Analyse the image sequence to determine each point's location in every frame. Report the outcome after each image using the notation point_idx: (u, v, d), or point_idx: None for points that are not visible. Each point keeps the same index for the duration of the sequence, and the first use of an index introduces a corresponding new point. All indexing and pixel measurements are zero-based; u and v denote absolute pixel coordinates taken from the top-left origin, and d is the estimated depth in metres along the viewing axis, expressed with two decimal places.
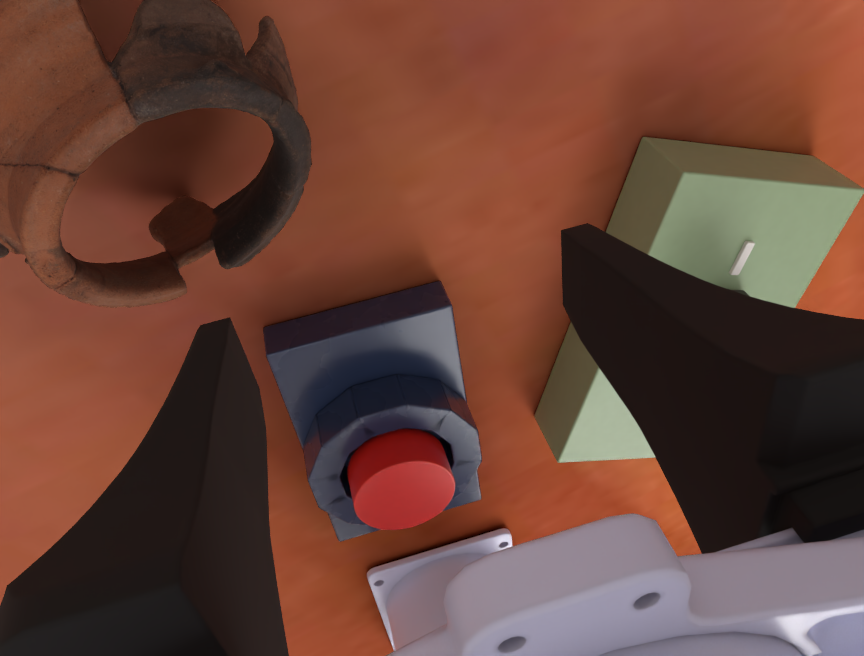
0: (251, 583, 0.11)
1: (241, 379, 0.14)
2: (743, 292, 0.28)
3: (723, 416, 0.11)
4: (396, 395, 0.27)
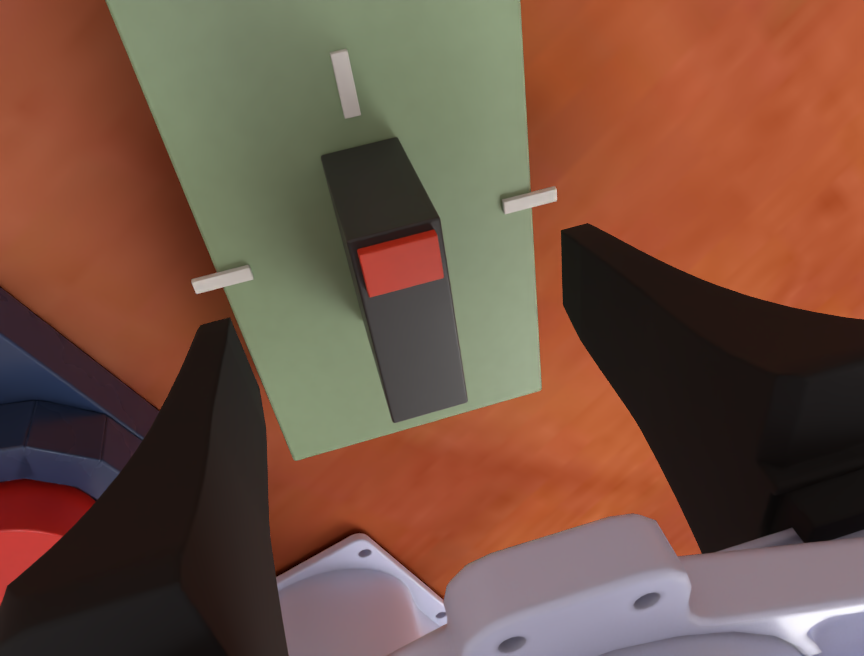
0: (251, 583, 0.11)
1: (241, 379, 0.14)
2: (392, 141, 0.16)
3: (723, 416, 0.11)
4: None
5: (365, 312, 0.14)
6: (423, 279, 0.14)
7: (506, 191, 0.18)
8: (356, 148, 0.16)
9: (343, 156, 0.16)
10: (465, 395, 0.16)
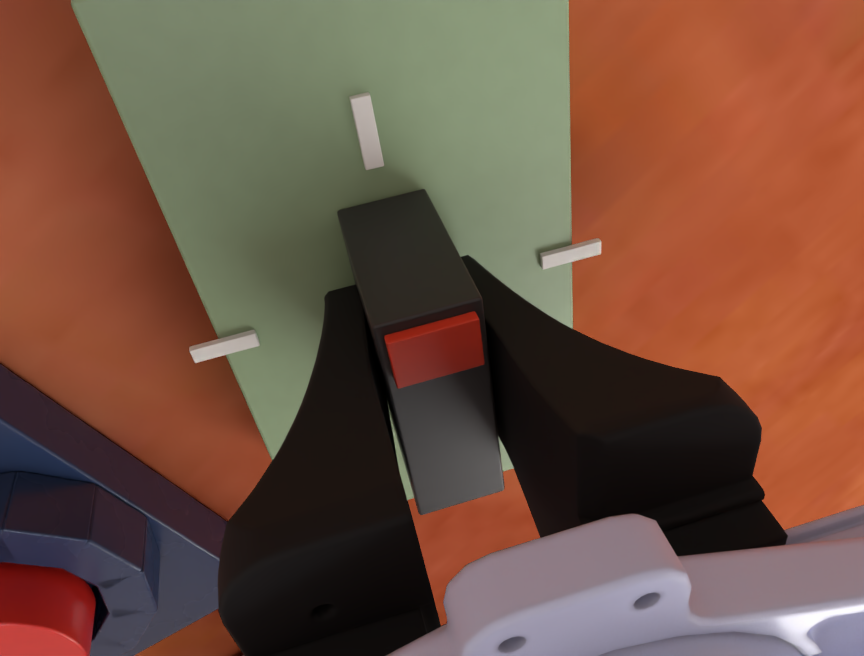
0: None
1: (372, 343, 0.14)
2: (419, 194, 0.14)
3: (554, 467, 0.10)
4: None
5: (391, 402, 0.12)
6: (461, 367, 0.12)
7: (545, 244, 0.16)
8: (378, 202, 0.14)
9: (363, 212, 0.14)
10: (502, 483, 0.14)
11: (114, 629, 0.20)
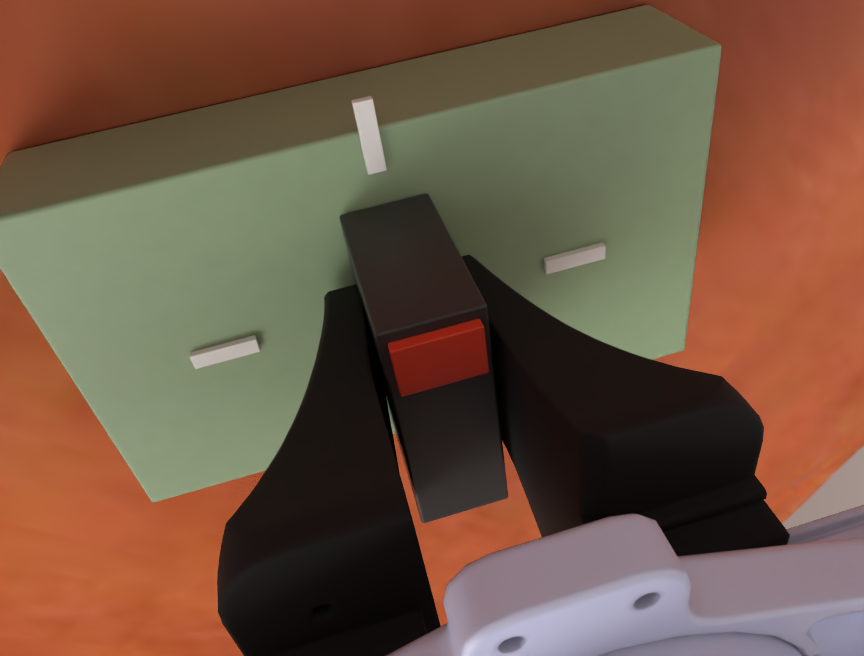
0: None
1: (372, 343, 0.14)
2: (422, 198, 0.14)
3: (556, 466, 0.10)
4: None
5: (394, 410, 0.12)
6: (465, 375, 0.12)
7: None
8: (380, 207, 0.14)
9: (366, 217, 0.14)
10: (505, 491, 0.14)
11: None
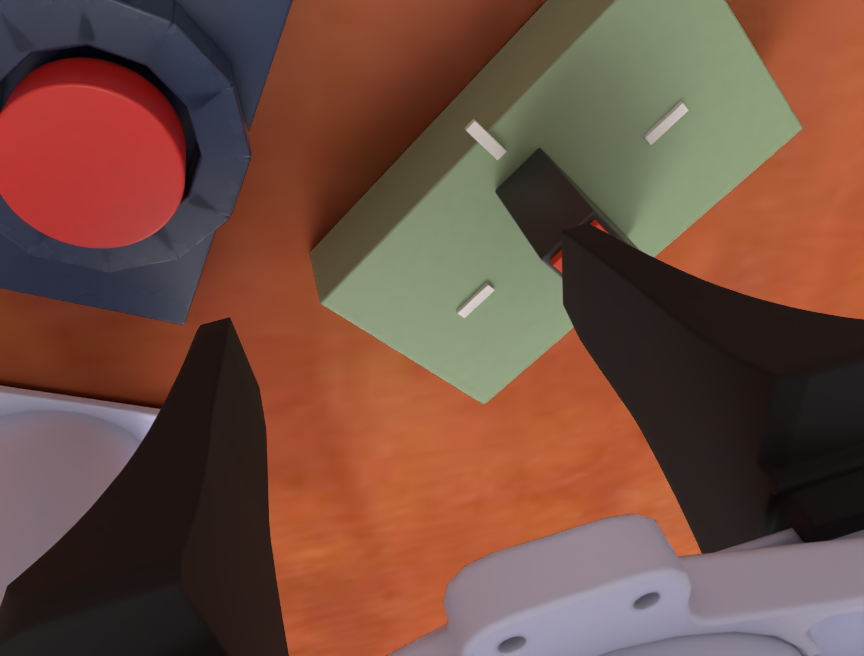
0: (251, 583, 0.11)
1: (241, 379, 0.14)
2: (537, 153, 0.20)
3: (723, 416, 0.11)
4: (162, 9, 0.16)
5: None
6: None
7: None
8: (515, 173, 0.21)
9: (510, 184, 0.21)
10: None
11: None
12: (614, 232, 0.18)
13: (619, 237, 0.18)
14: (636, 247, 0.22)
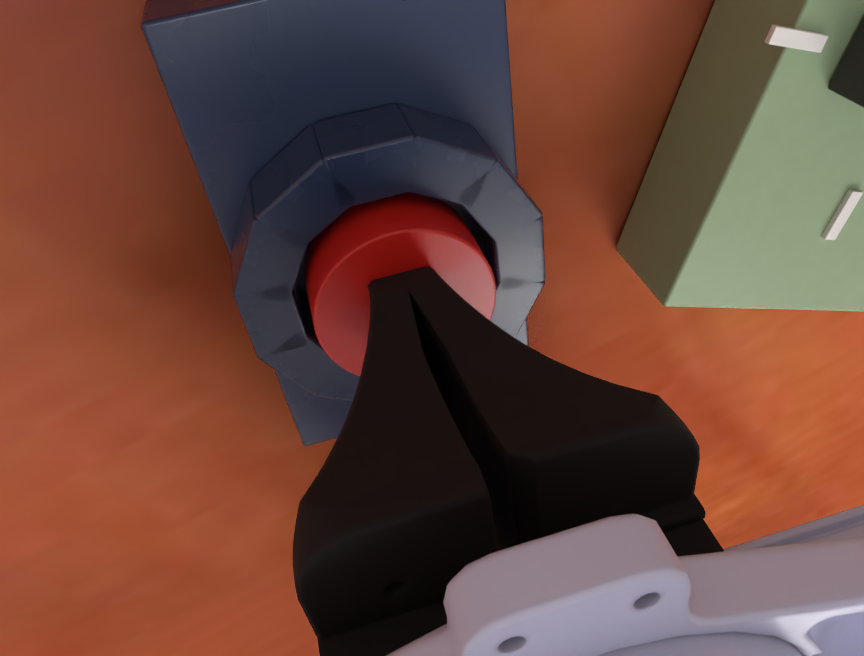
0: None
1: None
2: None
3: (497, 484, 0.10)
4: (396, 126, 0.14)
5: None
6: None
7: None
8: (849, 53, 0.15)
9: (848, 72, 0.15)
10: None
11: None
12: None
13: None
14: None
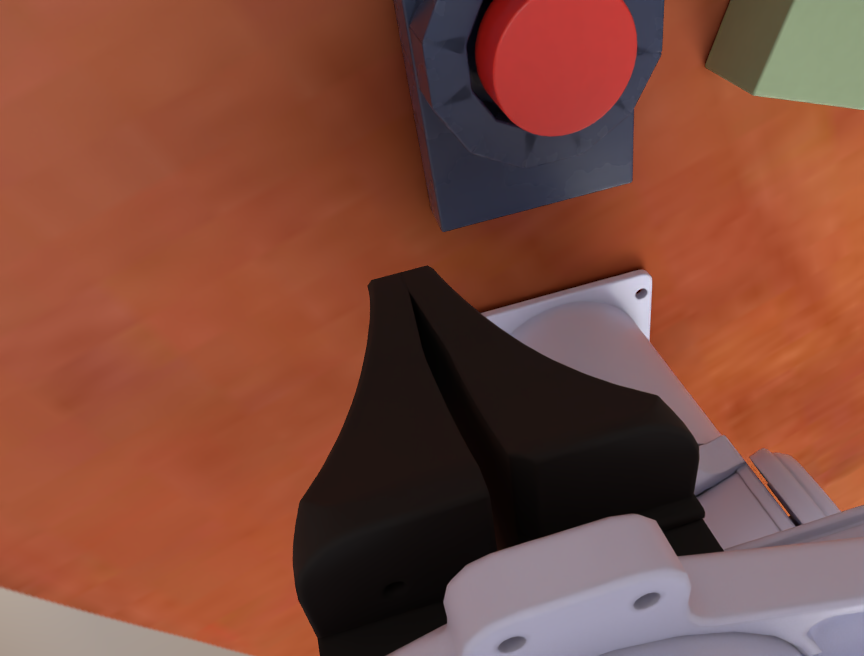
0: None
1: None
2: None
3: (497, 484, 0.10)
4: None
5: None
6: None
7: None
8: None
9: None
10: None
11: None
12: None
13: None
14: None
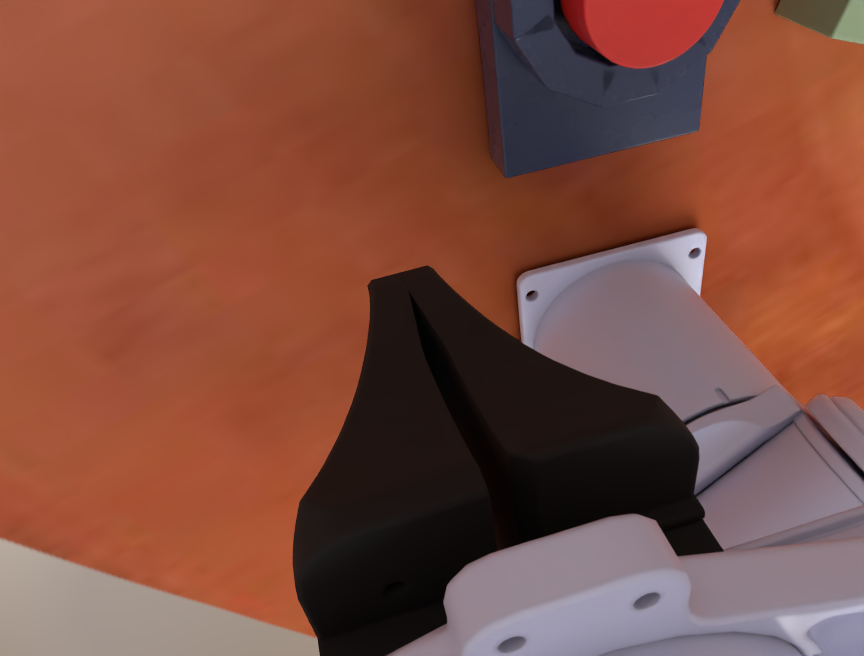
0: None
1: None
2: None
3: (497, 484, 0.10)
4: None
5: None
6: None
7: None
8: None
9: None
10: None
11: None
12: None
13: None
14: None
